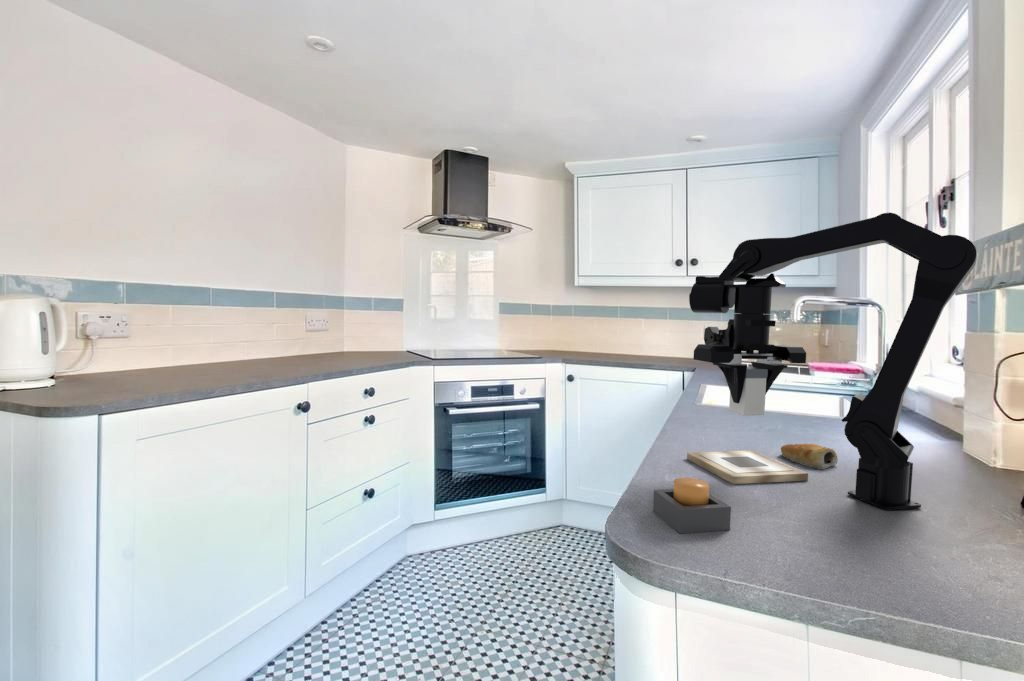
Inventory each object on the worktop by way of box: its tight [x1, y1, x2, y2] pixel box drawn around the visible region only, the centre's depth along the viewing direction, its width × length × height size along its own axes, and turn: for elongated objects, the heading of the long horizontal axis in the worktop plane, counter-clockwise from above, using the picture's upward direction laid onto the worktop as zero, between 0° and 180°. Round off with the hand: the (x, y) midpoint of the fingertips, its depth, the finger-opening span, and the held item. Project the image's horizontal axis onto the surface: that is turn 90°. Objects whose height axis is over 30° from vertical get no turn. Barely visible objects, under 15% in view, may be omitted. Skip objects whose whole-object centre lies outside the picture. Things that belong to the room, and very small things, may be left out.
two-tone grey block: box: [728, 366, 768, 417], centre depth 87 cm, size 4×4×8 cm
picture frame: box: [686, 449, 809, 485], centre depth 88 cm, size 14×14×1 cm
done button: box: [673, 477, 710, 506], centre depth 65 cm, size 4×4×2 cm
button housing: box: [652, 488, 732, 534], centre depth 65 cm, size 7×7×3 cm
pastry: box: [780, 443, 839, 470], centre depth 94 cm, size 9×7×4 cm
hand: (747, 402), depth 87 cm, fingers closed on two-tone grey block, 4 cm apart
